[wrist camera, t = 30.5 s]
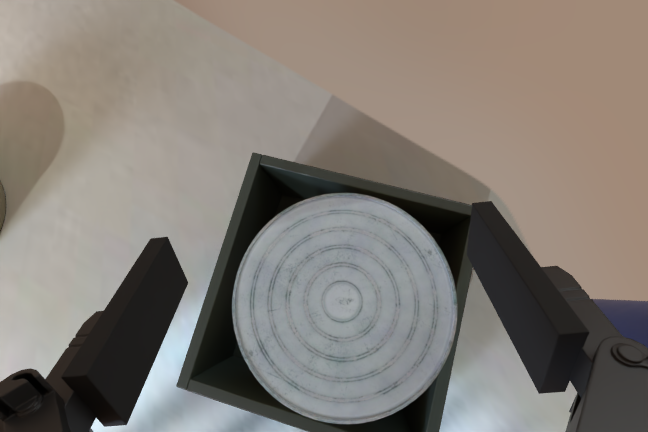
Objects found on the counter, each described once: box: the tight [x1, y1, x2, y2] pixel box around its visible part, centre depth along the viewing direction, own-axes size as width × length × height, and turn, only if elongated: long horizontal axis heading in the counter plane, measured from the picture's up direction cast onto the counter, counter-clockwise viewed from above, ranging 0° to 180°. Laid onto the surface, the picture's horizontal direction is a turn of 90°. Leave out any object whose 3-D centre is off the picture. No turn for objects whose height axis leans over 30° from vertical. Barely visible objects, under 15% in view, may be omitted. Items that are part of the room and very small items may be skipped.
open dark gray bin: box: [177, 153, 473, 432], centre depth 27 cm, size 15×15×9 cm
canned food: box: [232, 193, 457, 424], centre depth 24 cm, size 11×11×12 cm
